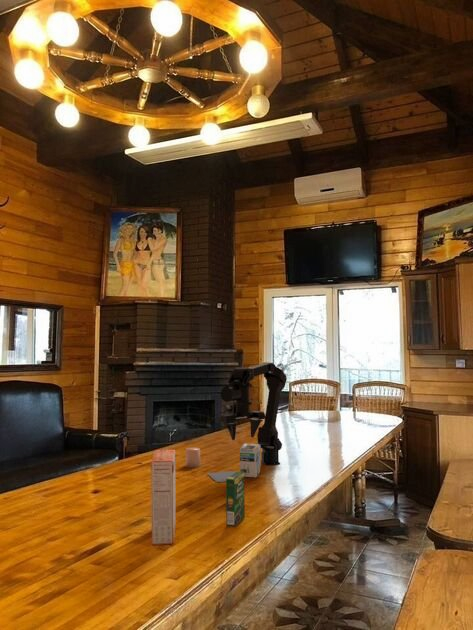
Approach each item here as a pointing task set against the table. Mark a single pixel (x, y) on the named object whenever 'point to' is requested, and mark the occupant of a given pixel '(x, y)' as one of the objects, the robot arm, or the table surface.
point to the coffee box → (235, 499)
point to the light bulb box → (250, 460)
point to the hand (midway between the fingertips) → (242, 438)
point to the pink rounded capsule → (192, 457)
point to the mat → (220, 476)
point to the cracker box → (163, 497)
